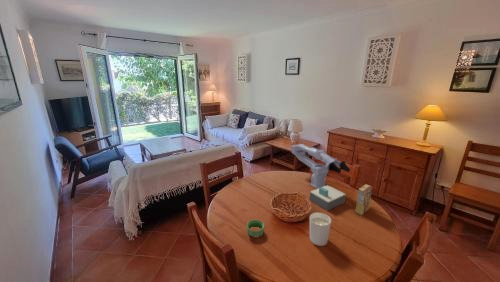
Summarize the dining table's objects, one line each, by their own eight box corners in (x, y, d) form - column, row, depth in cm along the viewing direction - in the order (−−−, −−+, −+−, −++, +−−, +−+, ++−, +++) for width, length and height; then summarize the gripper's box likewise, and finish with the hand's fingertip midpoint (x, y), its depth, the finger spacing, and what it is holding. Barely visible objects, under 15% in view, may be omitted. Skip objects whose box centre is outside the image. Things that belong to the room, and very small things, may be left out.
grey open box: (309, 199, 139) (310, 193, 137) (326, 193, 146) (327, 186, 145) (327, 210, 127) (327, 203, 126) (344, 202, 135) (345, 195, 133)
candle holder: (326, 250, 98) (328, 228, 95) (305, 242, 103) (306, 220, 100) (331, 237, 106) (333, 216, 103) (311, 230, 111) (312, 210, 108)
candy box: (361, 206, 131) (365, 183, 126) (369, 209, 127) (372, 186, 123) (354, 212, 125) (358, 188, 121) (362, 215, 122) (365, 191, 118)
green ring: (248, 239, 106) (248, 232, 105) (245, 227, 114) (245, 220, 113) (266, 237, 107) (266, 229, 106) (261, 225, 116) (261, 218, 115)
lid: (310, 192, 137) (310, 186, 136) (327, 186, 145) (327, 180, 144) (328, 202, 126) (328, 196, 124) (345, 195, 133) (346, 188, 132)
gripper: (322, 156, 138) (338, 166, 127) (338, 154, 145) (355, 164, 134) (319, 165, 141) (334, 176, 130) (335, 163, 147) (351, 174, 136)
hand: (344, 171), depth 132 cm, fingers open, 7 cm apart
